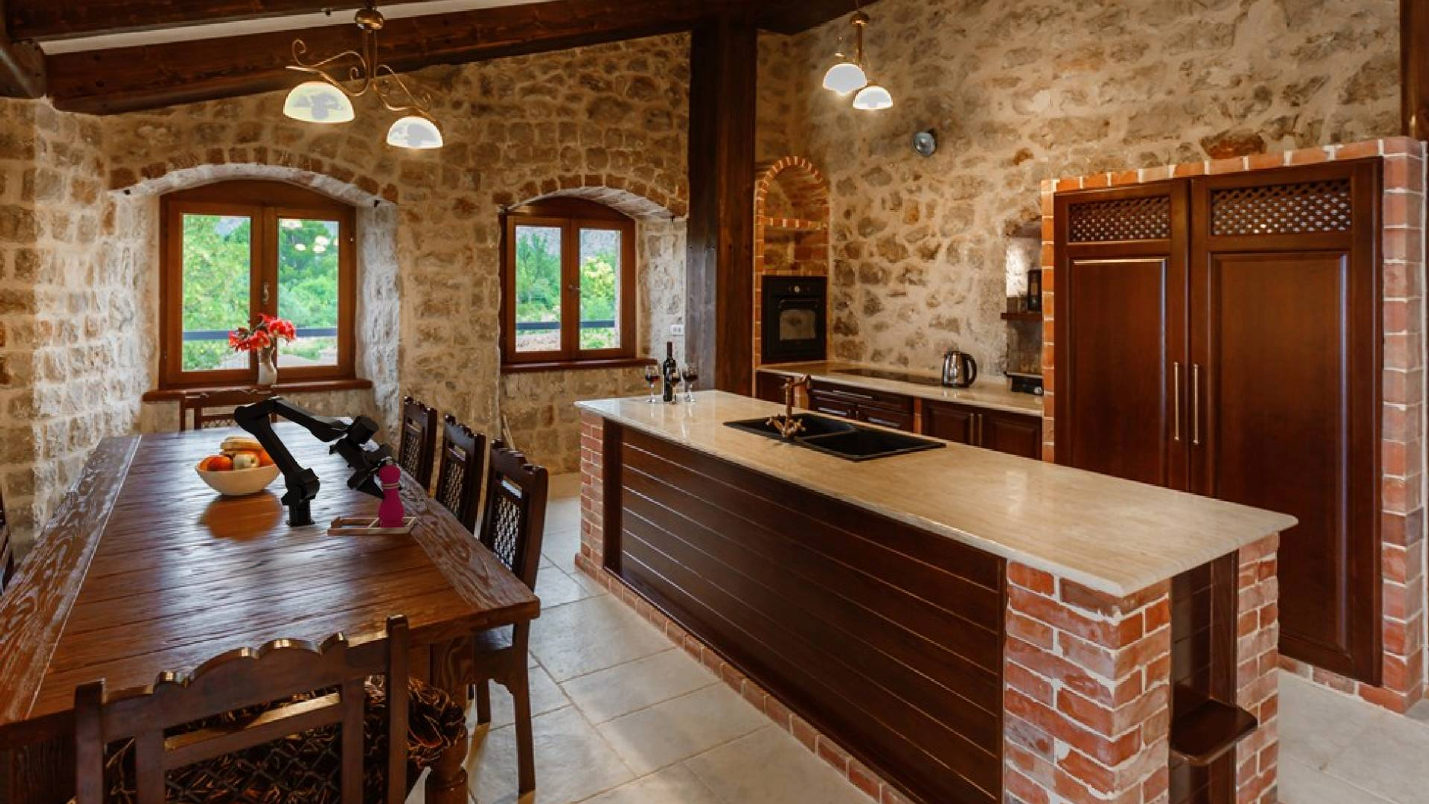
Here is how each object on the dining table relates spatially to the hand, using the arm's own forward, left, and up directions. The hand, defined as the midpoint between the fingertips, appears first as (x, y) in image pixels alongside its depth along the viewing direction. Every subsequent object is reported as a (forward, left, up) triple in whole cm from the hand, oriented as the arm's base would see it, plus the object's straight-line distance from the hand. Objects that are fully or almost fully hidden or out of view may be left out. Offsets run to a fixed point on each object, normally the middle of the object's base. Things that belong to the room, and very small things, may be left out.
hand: (393, 494), depth 233 cm
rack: (-4, -5, -10) cm, 12 cm away
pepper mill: (-1, -1, -10) cm, 10 cm away
